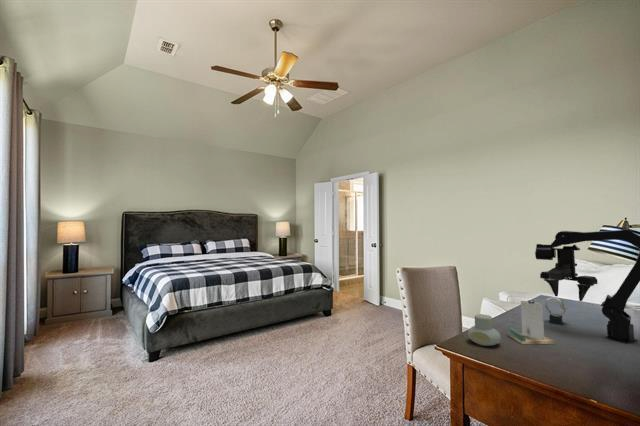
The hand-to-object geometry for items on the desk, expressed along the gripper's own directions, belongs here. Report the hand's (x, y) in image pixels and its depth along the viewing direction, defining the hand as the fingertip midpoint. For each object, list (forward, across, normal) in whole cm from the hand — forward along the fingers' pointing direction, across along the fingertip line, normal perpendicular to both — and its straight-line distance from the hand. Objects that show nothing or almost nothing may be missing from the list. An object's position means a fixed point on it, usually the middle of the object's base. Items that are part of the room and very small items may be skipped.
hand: (568, 298), depth 128 cm
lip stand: (+13, +1, -25) cm, 28 cm away
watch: (+13, -9, +6) cm, 17 cm away
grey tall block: (+12, +2, -24) cm, 27 cm away
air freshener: (+13, -3, -44) cm, 46 cm away
